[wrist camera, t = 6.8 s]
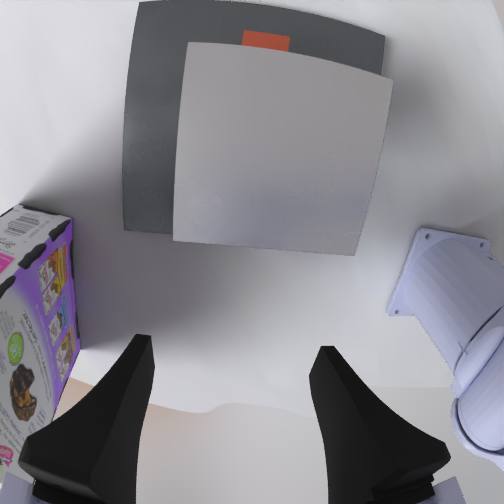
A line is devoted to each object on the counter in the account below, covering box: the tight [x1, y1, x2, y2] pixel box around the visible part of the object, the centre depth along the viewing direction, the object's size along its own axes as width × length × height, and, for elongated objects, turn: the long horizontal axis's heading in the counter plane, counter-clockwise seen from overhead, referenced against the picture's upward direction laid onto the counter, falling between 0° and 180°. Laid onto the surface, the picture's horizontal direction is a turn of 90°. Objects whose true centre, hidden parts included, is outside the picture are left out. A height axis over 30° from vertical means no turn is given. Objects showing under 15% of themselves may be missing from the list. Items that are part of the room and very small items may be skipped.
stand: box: [122, 0, 385, 234], centre depth 14 cm, size 14×14×4 cm
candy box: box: [0, 205, 81, 488], centre depth 13 cm, size 14×6×16 cm, turn 163°
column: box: [173, 42, 394, 256], centre depth 8 cm, size 4×4×7 cm
